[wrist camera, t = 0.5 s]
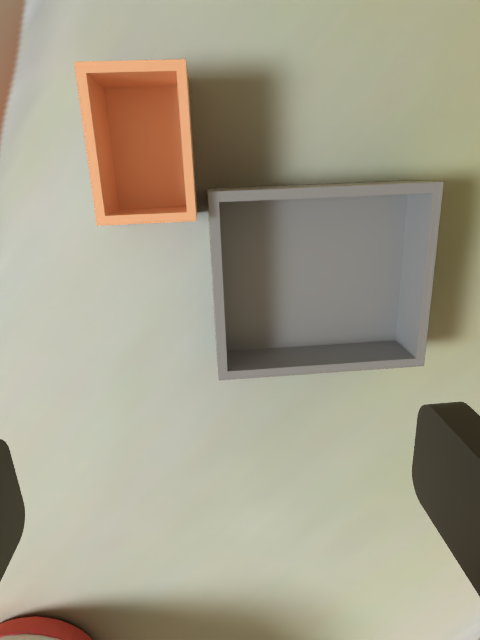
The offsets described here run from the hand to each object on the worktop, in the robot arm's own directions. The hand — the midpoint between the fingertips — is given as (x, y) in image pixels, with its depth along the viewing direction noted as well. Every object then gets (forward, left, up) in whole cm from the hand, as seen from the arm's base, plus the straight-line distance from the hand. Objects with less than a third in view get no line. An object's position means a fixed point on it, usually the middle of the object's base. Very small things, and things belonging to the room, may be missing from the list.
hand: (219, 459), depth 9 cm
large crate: (+2, +7, -23) cm, 24 cm away
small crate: (-7, -3, -23) cm, 24 cm away
